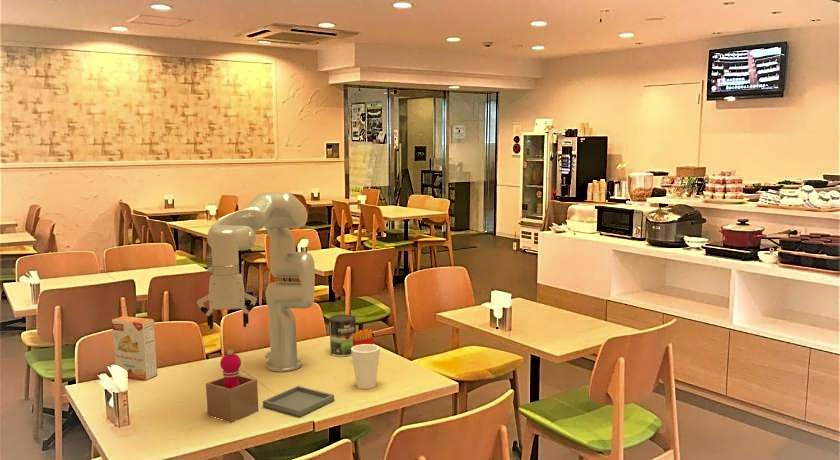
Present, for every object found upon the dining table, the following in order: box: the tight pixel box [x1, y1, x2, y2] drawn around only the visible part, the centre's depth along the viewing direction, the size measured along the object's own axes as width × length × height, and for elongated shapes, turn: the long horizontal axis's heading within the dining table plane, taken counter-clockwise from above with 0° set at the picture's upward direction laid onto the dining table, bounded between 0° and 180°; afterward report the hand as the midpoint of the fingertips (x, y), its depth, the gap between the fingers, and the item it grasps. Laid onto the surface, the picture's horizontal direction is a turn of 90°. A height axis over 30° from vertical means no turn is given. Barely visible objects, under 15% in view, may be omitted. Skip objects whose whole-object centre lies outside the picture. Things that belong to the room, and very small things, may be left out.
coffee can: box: [328, 314, 357, 358], centre depth 265 cm, size 10×10×14 cm
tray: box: [262, 385, 335, 418], centre depth 214 cm, size 16×16×2 cm
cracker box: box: [111, 315, 158, 381], centre depth 240 cm, size 14×6×21 cm, turn 68°
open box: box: [205, 374, 259, 424], centre depth 206 cm, size 11×11×10 cm
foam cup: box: [350, 344, 381, 390], centre depth 228 cm, size 10×9×13 cm
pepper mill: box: [219, 349, 242, 389], centre depth 206 cm, size 7×7×20 cm
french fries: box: [352, 328, 374, 346], centre depth 254 cm, size 8×4×12 cm, turn 128°
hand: (228, 327), depth 203 cm, fingers open, 9 cm apart
